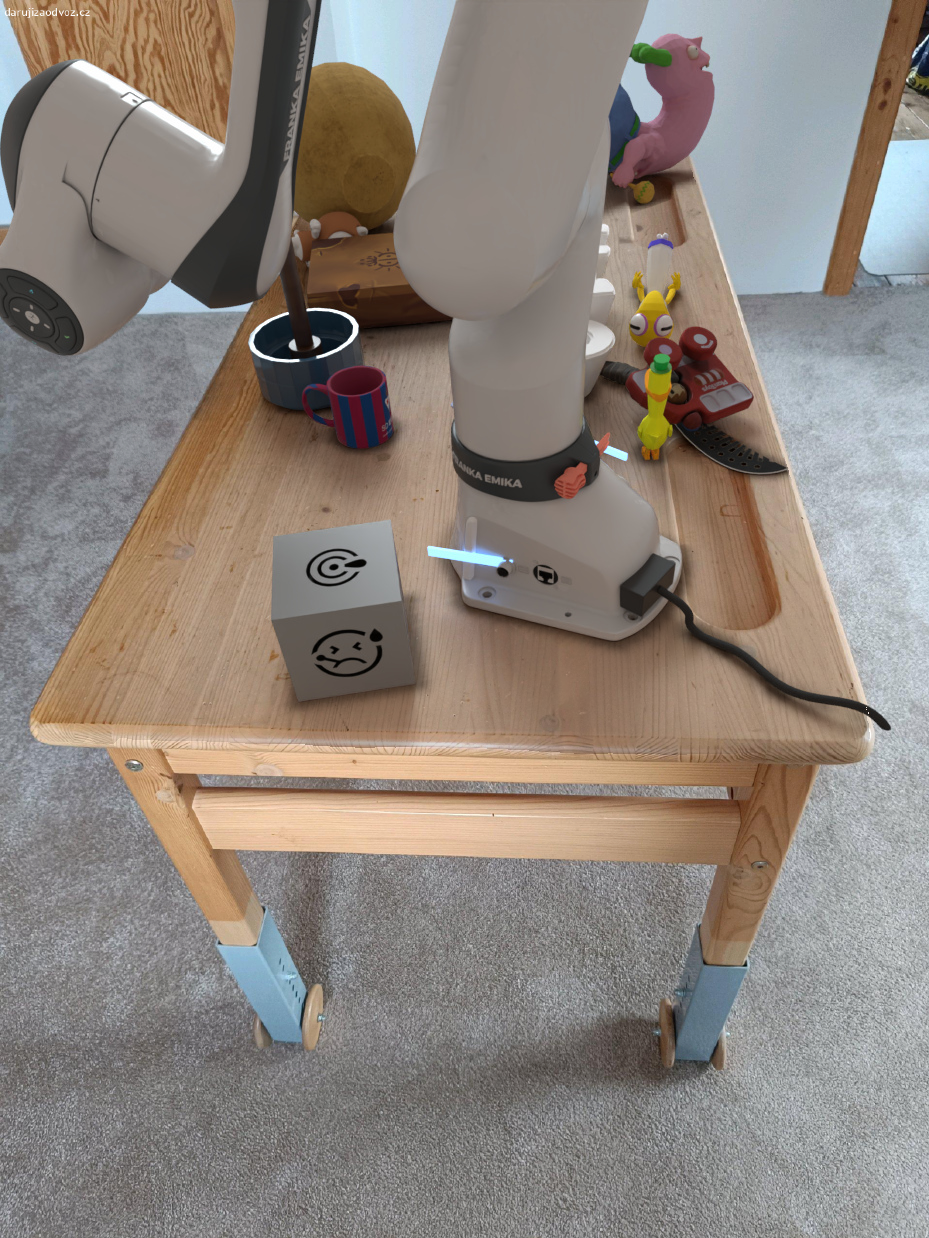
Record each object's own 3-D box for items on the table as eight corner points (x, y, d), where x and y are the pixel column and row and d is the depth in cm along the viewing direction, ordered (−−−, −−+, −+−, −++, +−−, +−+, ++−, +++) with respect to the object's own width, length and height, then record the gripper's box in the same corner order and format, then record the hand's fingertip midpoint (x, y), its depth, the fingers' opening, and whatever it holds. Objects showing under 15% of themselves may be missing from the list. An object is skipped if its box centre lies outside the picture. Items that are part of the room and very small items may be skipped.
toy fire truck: (627, 345, 90) (685, 412, 87) (712, 317, 95) (771, 380, 91) (607, 392, 96) (661, 457, 93) (689, 364, 101) (743, 424, 97)
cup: (385, 451, 96) (376, 398, 91) (302, 445, 98) (290, 393, 93) (400, 418, 100) (392, 366, 96) (321, 414, 102) (309, 363, 97)
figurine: (300, 254, 121) (378, 243, 125) (281, 203, 123) (359, 194, 127) (296, 296, 129) (369, 285, 133) (279, 247, 131) (352, 238, 135)
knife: (753, 494, 88) (788, 474, 89) (756, 481, 86) (791, 461, 88) (583, 378, 104) (615, 363, 105) (583, 366, 103) (616, 350, 104)
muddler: (334, 376, 107) (302, 212, 92) (314, 391, 105) (277, 226, 90) (311, 368, 109) (275, 207, 94) (290, 383, 106) (250, 220, 92)
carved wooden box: (314, 337, 116) (305, 296, 112) (319, 278, 129) (311, 240, 125) (480, 320, 116) (478, 278, 112) (468, 263, 129) (466, 224, 125)
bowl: (388, 373, 108) (380, 321, 103) (320, 425, 101) (308, 372, 96) (309, 350, 114) (298, 300, 109) (240, 397, 106) (225, 346, 101)
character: (686, 227, 114) (683, 276, 99) (678, 302, 120) (673, 358, 105) (639, 226, 115) (628, 274, 100) (633, 300, 121) (622, 356, 106)
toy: (544, -3, 139) (701, 38, 148) (510, 159, 152) (656, 187, 162) (596, 5, 120) (772, 51, 129) (553, 189, 134) (714, 219, 143)
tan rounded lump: (353, 54, 113) (291, -3, 131) (259, 209, 122) (213, 135, 140) (472, 161, 130) (402, 97, 147) (381, 290, 139) (326, 215, 157)
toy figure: (631, 436, 95) (639, 337, 86) (663, 435, 94) (675, 335, 86) (637, 472, 90) (647, 371, 81) (671, 471, 90) (684, 369, 81)
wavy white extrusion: (502, 284, 123) (500, 209, 115) (617, 284, 121) (622, 207, 113) (468, 418, 99) (462, 334, 92) (610, 421, 97) (615, 335, 89)
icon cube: (404, 602, 79) (390, 519, 72) (415, 683, 72) (401, 600, 65) (297, 618, 78) (273, 536, 71) (298, 701, 71) (271, 620, 64)
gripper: (247, 183, 64) (307, 125, 73) (12, 182, 68) (97, 127, 77) (267, 266, 69) (321, 201, 78) (45, 260, 72) (121, 199, 82)
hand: (208, 164), depth 78 cm, fingers open, 8 cm apart
